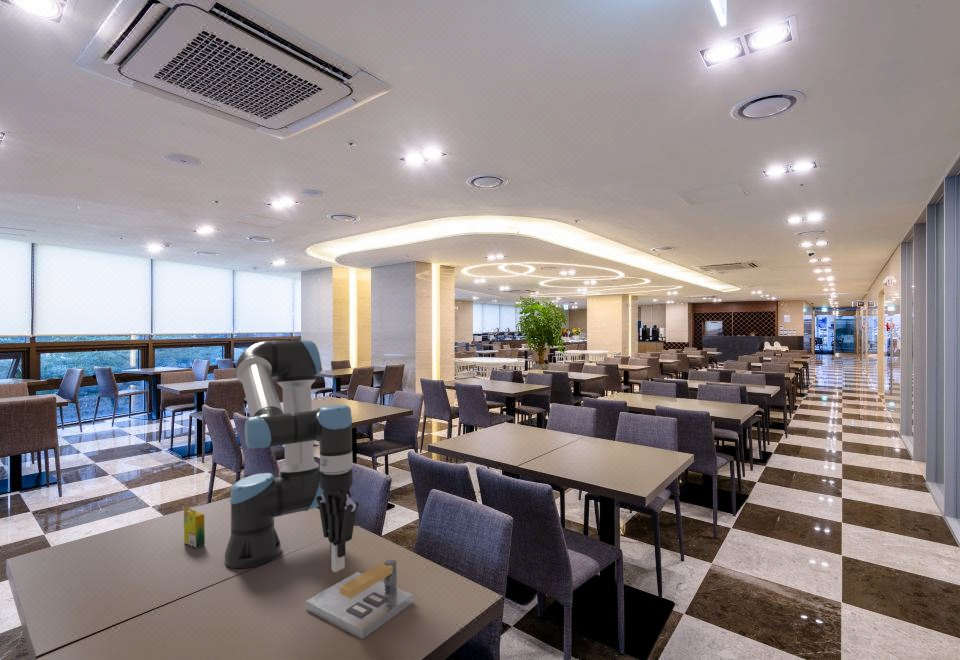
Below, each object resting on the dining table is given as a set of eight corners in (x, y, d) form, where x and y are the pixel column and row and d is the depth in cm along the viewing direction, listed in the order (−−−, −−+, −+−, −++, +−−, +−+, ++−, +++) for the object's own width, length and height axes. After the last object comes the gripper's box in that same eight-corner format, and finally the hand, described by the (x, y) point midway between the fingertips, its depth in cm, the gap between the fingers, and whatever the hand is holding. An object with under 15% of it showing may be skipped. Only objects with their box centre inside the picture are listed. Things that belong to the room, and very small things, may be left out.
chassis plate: (305, 609, 110) (305, 601, 110) (357, 579, 123) (357, 571, 123) (362, 639, 99) (362, 630, 99) (412, 602, 112) (412, 594, 112)
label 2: (363, 600, 110) (362, 598, 110) (373, 593, 113) (373, 591, 113) (377, 606, 107) (377, 605, 107) (388, 599, 110) (388, 597, 110)
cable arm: (389, 564, 117) (389, 558, 117) (399, 568, 115) (399, 562, 115) (340, 593, 104) (339, 586, 104) (350, 598, 102) (350, 591, 102)
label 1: (346, 610, 106) (346, 609, 106) (358, 603, 109) (358, 601, 109) (361, 617, 103) (361, 616, 103) (372, 610, 106) (372, 608, 106)
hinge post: (382, 599, 114) (381, 571, 114) (390, 593, 116) (390, 566, 116) (390, 602, 112) (390, 575, 112) (399, 596, 115) (399, 569, 115)
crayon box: (205, 545, 146) (204, 508, 146) (195, 548, 143) (194, 511, 143) (193, 539, 150) (193, 504, 150) (183, 543, 147) (183, 506, 147)
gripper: (306, 470, 111) (307, 568, 111) (341, 478, 104) (343, 583, 103) (331, 463, 117) (333, 556, 117) (366, 470, 110) (368, 569, 109)
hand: (338, 568), depth 110 cm, fingers closed
